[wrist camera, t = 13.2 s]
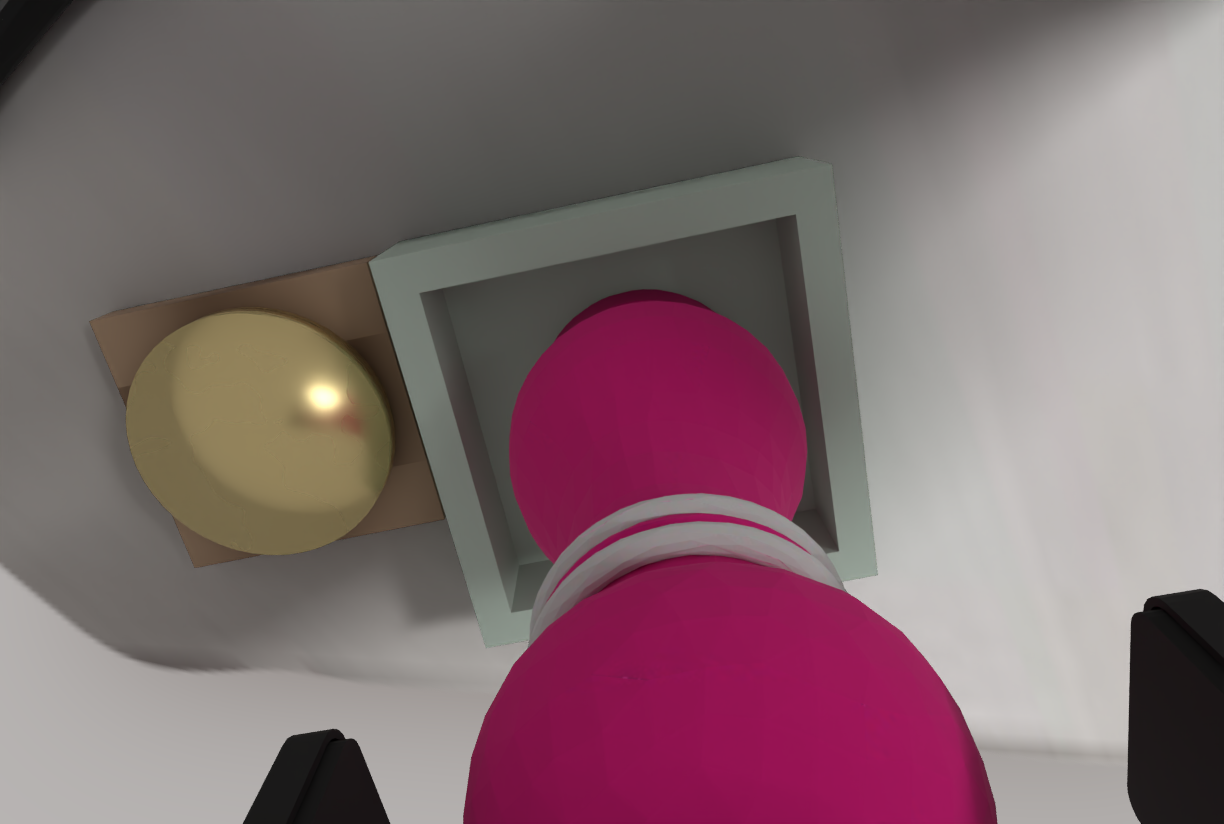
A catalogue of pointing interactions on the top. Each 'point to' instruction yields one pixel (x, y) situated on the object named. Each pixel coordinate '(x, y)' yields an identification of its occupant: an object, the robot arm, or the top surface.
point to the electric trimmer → (24, 28)
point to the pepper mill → (697, 606)
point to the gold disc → (261, 430)
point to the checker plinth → (333, 302)
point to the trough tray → (590, 271)
